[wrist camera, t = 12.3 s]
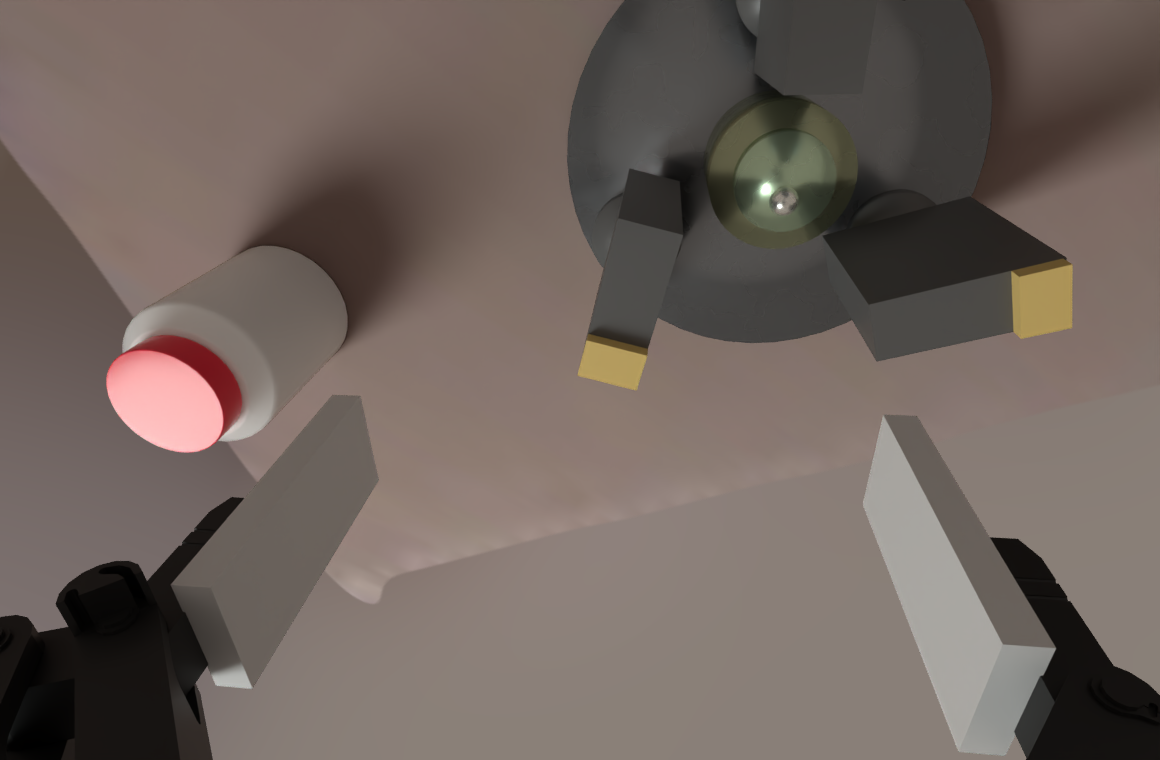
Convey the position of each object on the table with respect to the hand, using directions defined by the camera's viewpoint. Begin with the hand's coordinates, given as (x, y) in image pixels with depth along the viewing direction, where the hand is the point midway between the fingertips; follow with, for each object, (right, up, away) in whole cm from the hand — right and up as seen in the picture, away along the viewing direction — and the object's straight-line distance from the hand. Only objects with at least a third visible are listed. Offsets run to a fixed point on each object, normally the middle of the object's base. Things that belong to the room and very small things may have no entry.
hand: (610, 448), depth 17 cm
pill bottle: (-18, +6, +23) cm, 30 cm away
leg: (+14, +9, +15) cm, 22 cm away
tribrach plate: (+8, +13, +15) cm, 22 cm away
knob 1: (+2, +9, +16) cm, 19 cm away
